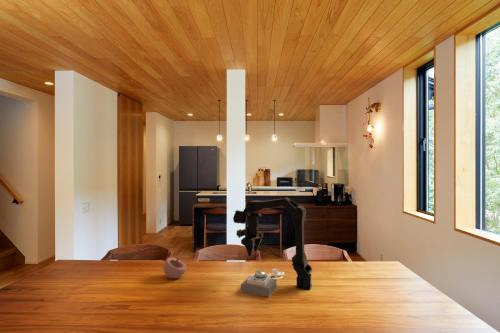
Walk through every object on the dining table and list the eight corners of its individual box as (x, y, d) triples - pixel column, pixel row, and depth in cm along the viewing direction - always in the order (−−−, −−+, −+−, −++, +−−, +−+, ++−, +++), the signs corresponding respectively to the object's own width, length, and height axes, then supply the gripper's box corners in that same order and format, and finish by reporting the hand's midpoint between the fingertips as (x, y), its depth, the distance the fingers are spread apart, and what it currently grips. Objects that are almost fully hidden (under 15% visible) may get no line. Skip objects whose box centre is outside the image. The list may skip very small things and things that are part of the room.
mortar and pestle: (183, 282, 159) (183, 260, 158) (160, 282, 159) (160, 260, 159) (188, 273, 171) (188, 253, 170) (167, 273, 171) (167, 253, 171)
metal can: (265, 286, 152) (266, 270, 151) (264, 291, 147) (264, 274, 146) (255, 285, 153) (256, 269, 152) (253, 289, 148) (254, 273, 147)
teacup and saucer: (284, 274, 170) (284, 267, 170) (284, 280, 162) (284, 272, 162) (268, 274, 171) (268, 266, 171) (267, 279, 163) (267, 271, 163)
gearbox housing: (276, 286, 153) (276, 274, 152) (269, 297, 141) (269, 284, 141) (249, 283, 157) (249, 271, 157) (241, 292, 146) (241, 280, 146)
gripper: (244, 220, 175) (244, 247, 176) (231, 226, 158) (231, 257, 158) (263, 221, 171) (263, 249, 172) (252, 228, 154) (252, 259, 154)
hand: (252, 253), depth 164 cm, fingers open, 9 cm apart
